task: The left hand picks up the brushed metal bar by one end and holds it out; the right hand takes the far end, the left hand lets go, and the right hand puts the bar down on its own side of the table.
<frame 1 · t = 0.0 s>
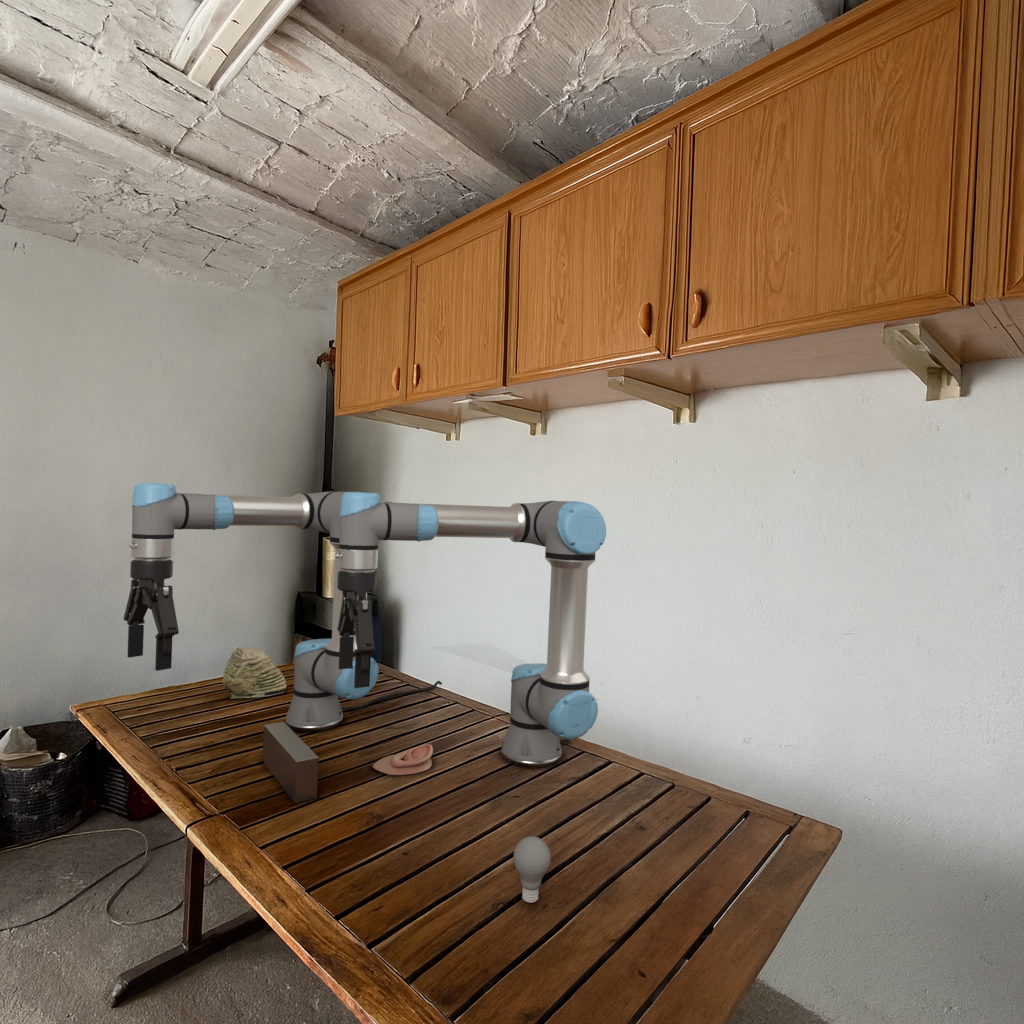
left hand: (148, 662, 129), 28 cm above the table, tool pointing down, fingers open, 13 cm apart
right hand: (353, 677, 125), 28 cm above the table, tool pointing down, fingers open, 13 cm apart
light bulb: (530, 901, 102), on the table
bar: (288, 778, 142), on the table
anatomical model: (403, 766, 151), on the table
fossil: (254, 694, 198), on the table
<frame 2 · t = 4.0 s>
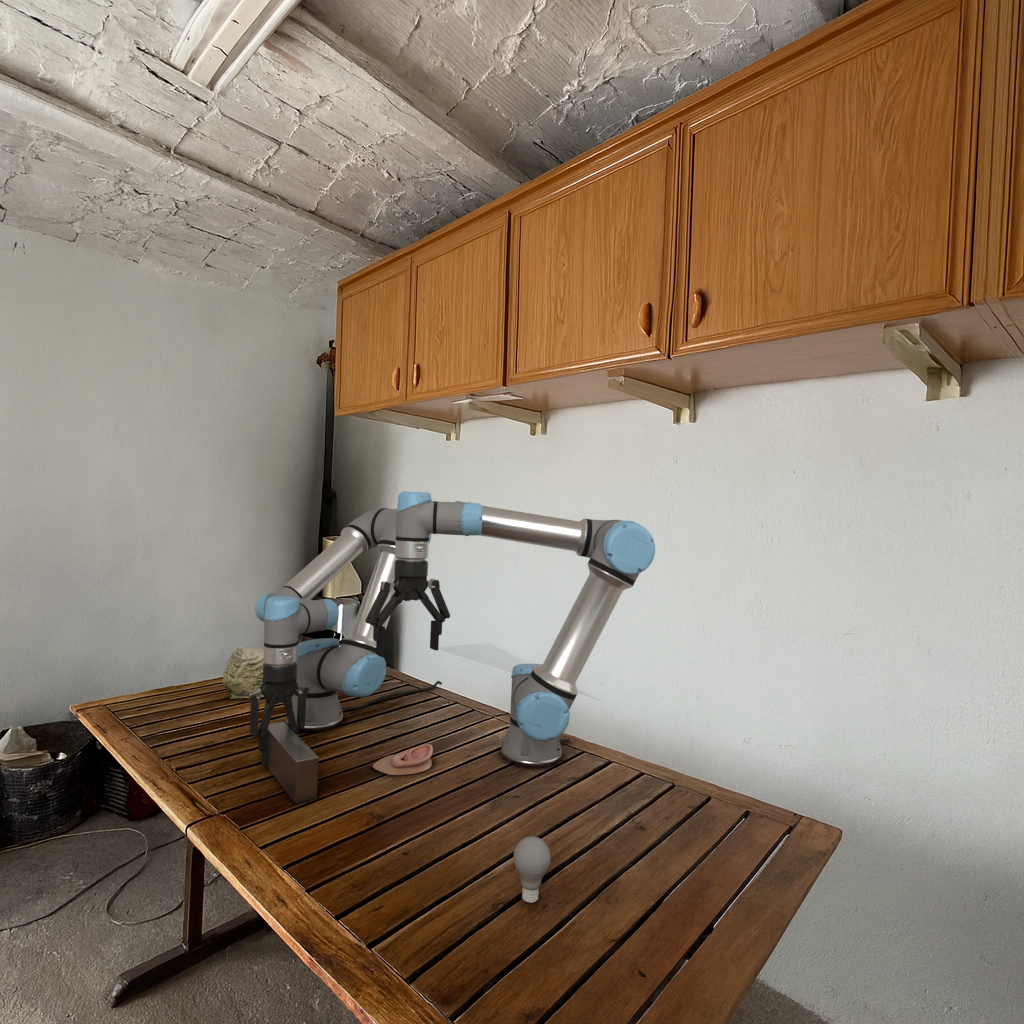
left hand: (276, 761, 149), 1 cm above the table, tool pointing down, fingers closed on bar, 5 cm apart
right hand: (407, 652, 144), 29 cm above the table, tool pointing down, fingers open, 13 cm apart
bar: (288, 778, 142), on the table, touching left hand
everything else where it was.
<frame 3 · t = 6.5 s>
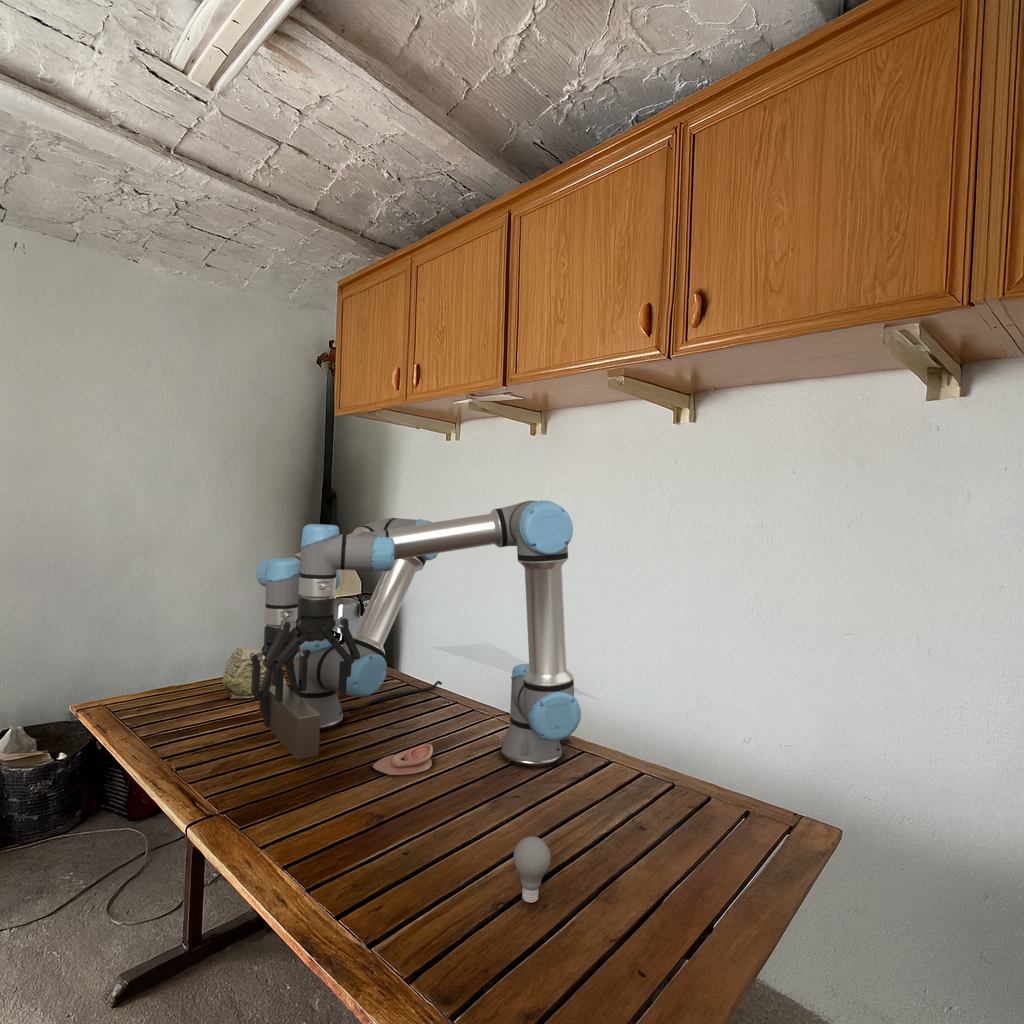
left hand: (278, 723, 149), 10 cm above the table, tool pointing down, fingers closed on bar, 5 cm apart
right hand: (311, 696, 135), 21 cm above the table, tool pointing down, fingers open, 13 cm apart
bar: (289, 738, 142), point 9 cm above the table, touching left hand
everything else where it was.
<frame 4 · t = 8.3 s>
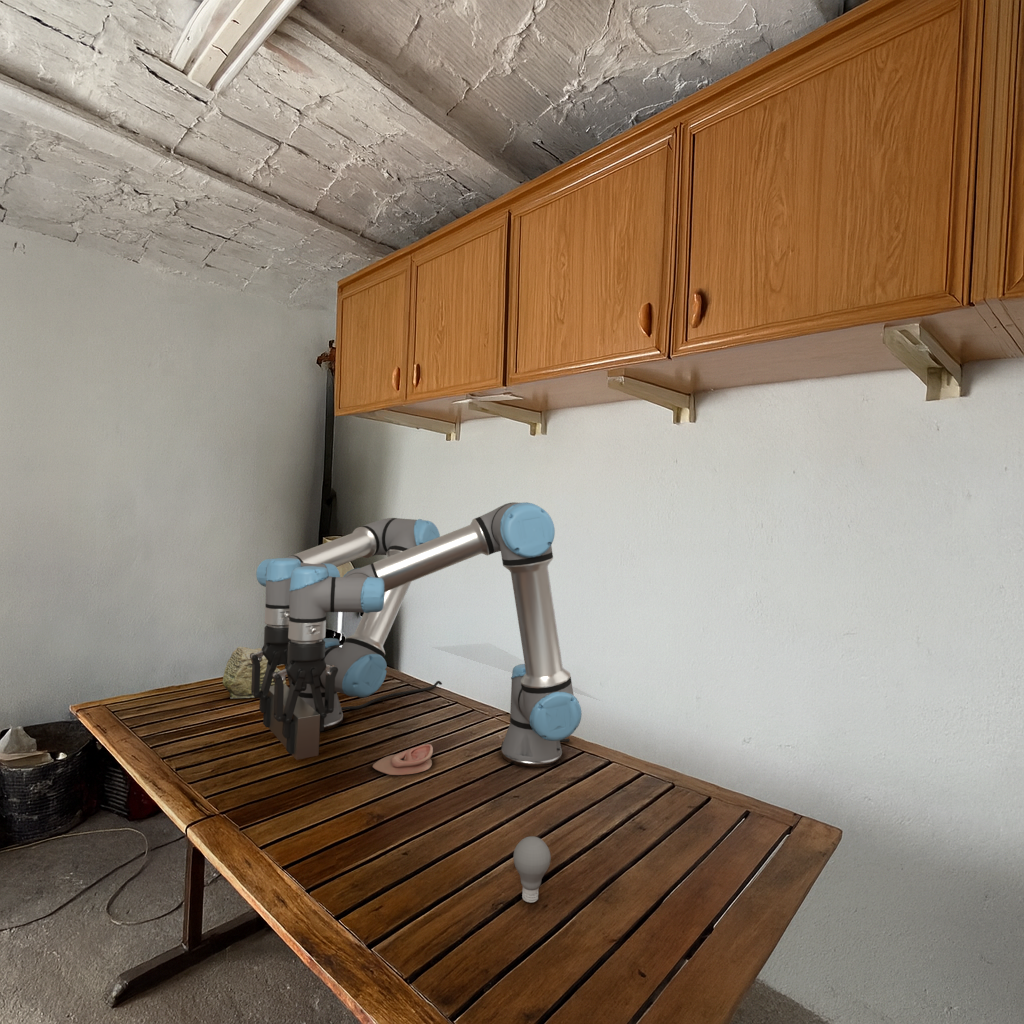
left hand: (278, 723, 149), 10 cm above the table, tool pointing down, fingers closed on bar, 5 cm apart
right hand: (302, 749, 134), 10 cm above the table, tool pointing down, fingers closed on bar, 5 cm apart
bar: (289, 738, 142), point 9 cm above the table, touching left hand, right hand
everything else where it was.
when the left hand's fingers open (10 cm above the table, at t = 9.0 s): bar stays where it is, held by the right hand.
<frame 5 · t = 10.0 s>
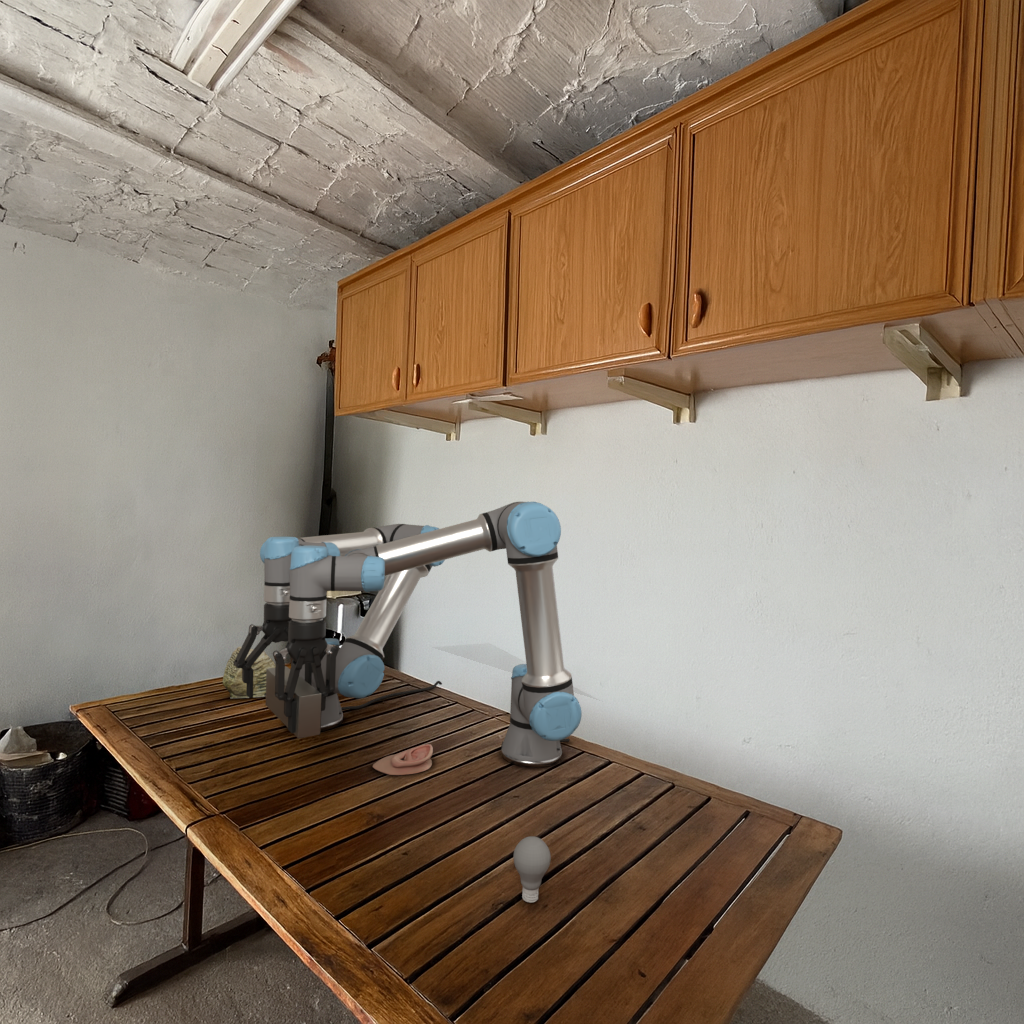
left hand: (279, 691, 150), 17 cm above the table, tool pointing down, fingers open, 13 cm apart
right hand: (304, 728, 134), 14 cm above the table, tool pointing down, fingers closed on bar, 5 cm apart
bar: (291, 718, 141), point 13 cm above the table, touching right hand
everything else where it was.
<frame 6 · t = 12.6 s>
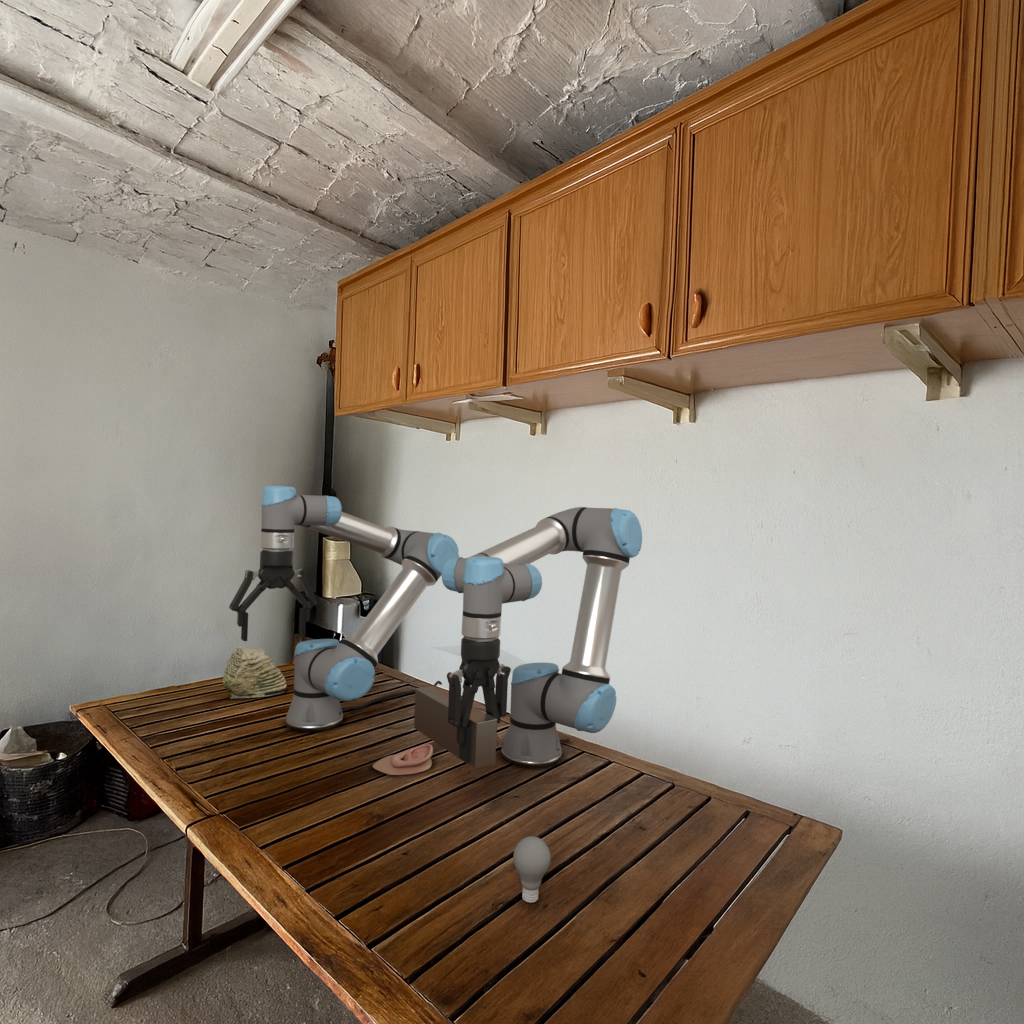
left hand: (273, 637, 153), 29 cm above the table, tool pointing down, fingers open, 13 cm apart
right hand: (476, 756, 122), 15 cm above the table, tool pointing down, fingers closed on bar, 5 cm apart
bar: (452, 744, 130), point 14 cm above the table, touching right hand
everything else where it was.
when the right hand's fingers open (2 cm above the table, at t = 17.1 s): bar drops 1 cm, on the table.
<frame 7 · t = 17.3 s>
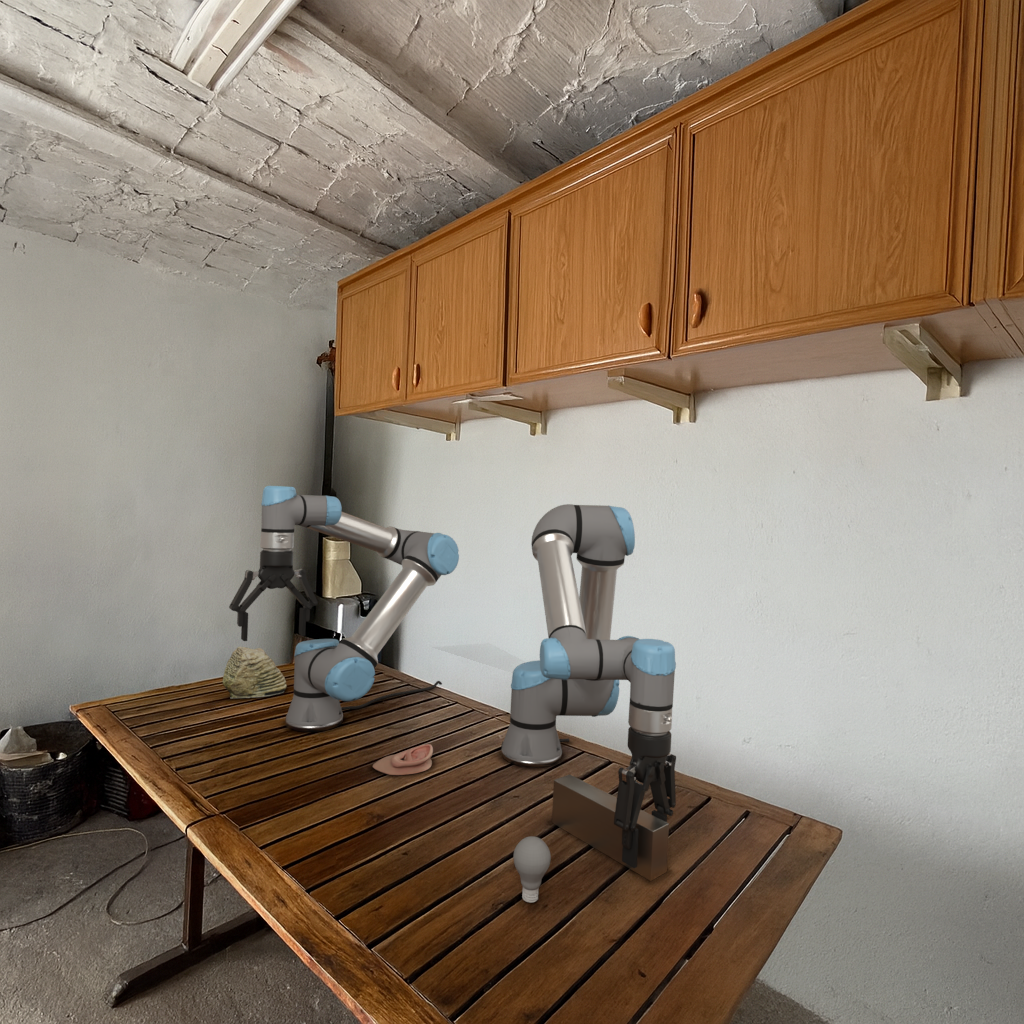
left hand: (273, 637, 153), 29 cm above the table, tool pointing down, fingers open, 13 cm apart
right hand: (643, 856, 113), 2 cm above the table, tool pointing down, fingers open, 7 cm apart
bar: (605, 845, 119), on the table
everything else where it was.
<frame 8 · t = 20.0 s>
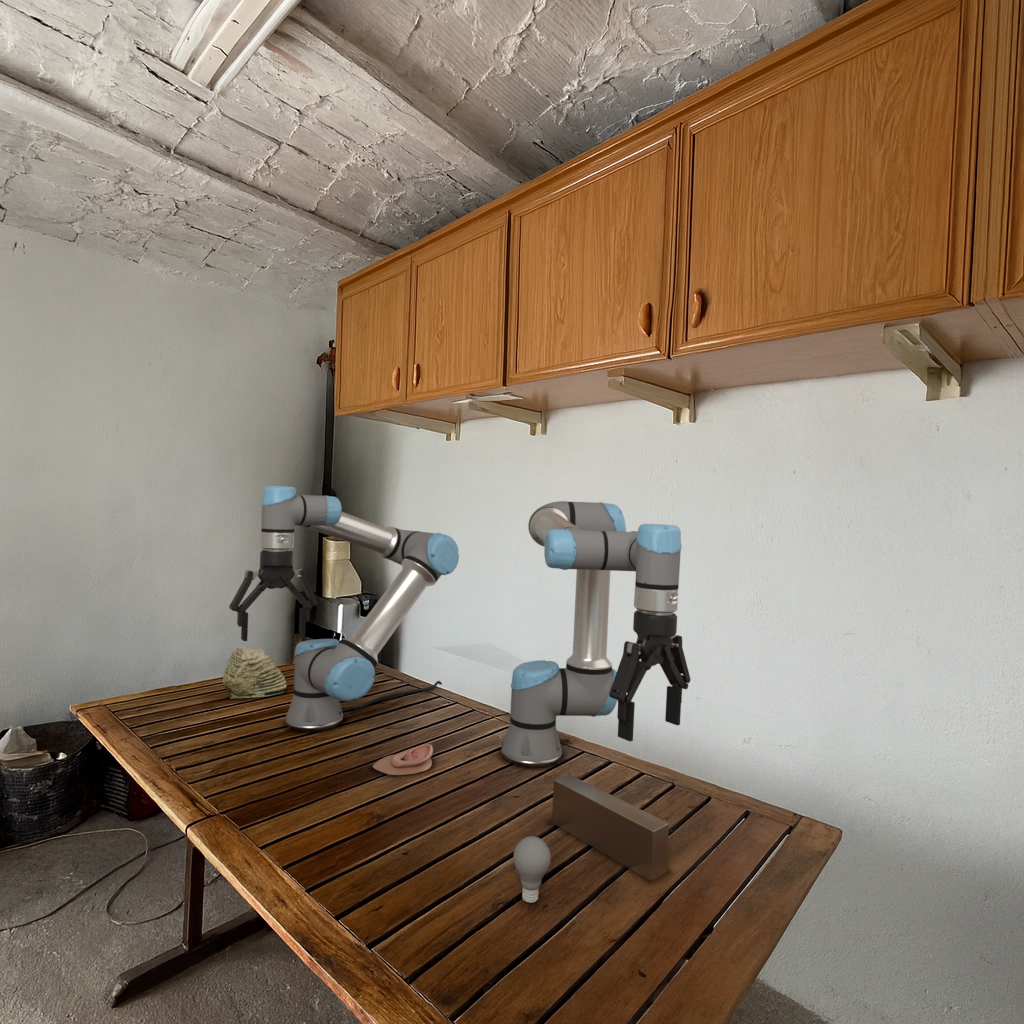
left hand: (273, 637, 153), 29 cm above the table, tool pointing down, fingers open, 13 cm apart
right hand: (649, 730, 112), 25 cm above the table, tool pointing down, fingers open, 13 cm apart
nothing on the table moved.
at the end: bar inside the target area (8.9 cm from its centre), on the table; the left hand is holding nothing; the right hand is holding nothing; bar at rest at the end (0.0 cm/s) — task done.
